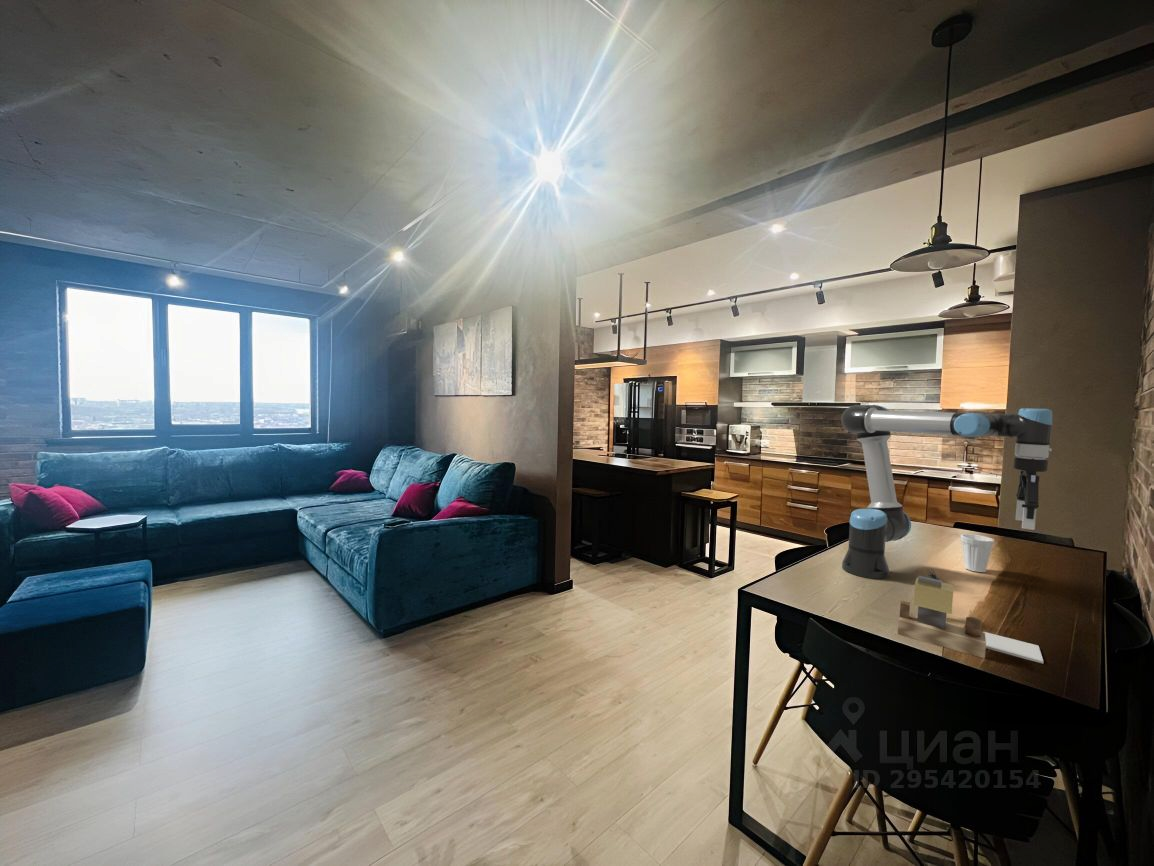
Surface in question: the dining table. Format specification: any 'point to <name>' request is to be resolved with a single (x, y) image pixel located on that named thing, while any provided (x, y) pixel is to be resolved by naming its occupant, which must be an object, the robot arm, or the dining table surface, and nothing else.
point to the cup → (976, 551)
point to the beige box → (933, 594)
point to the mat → (1013, 647)
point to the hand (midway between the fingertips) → (1024, 524)
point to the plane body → (942, 630)
